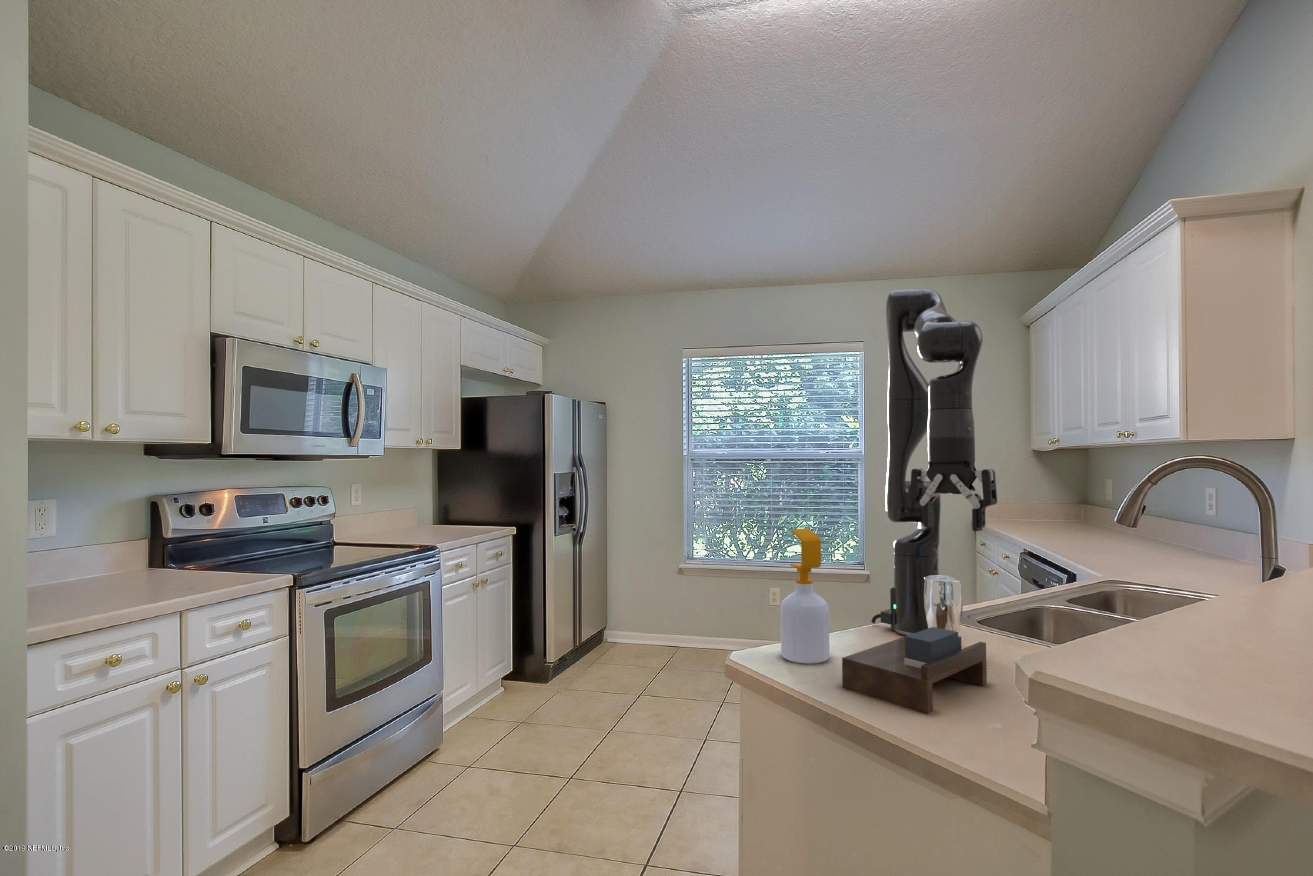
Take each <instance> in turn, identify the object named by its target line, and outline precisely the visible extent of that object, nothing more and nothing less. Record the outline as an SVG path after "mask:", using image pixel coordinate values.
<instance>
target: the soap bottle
mask: <svg viewBox="0 0 1313 876" xmlns="http://www.w3.org/2000/svg"><path fill="white" fill-rule="evenodd" d="M791 533H792V534H793V535H794V536H795V537H796V538H798V539H799V541H800V553H801V554H800V555H801V557H800V558H801V560H800V561H801V562H795V563H794V562H792V563H790V565H789V566H790V567H791V568H795V569H796V572H797V573H799V577H798V578H796V579H795V590H794V592H792V593H790V594H788V595H787V596H786V597H785V598H784V599H783V600H782V601H781V603H780V654H781V656H782V658H783V659H785V660H787V661H789V662H793V663H797V664H805V665H806V664H807V665H808V664H809V665H811V664H812V665H813V664H820V663H824V662H826V661H828V660H829V658H830V607H829V605H828V602H827V601H826V600H824V599H823V598H822V597H821V596H820V595H819V594H817V593H816V592H815V591H814V579H812V578H810V577H809V576H810V575H809V573H812V569H816V568H817V569H818V568H820V567H821V566H822V541H821V538H820V536H819V535H818V534H817V533H815V532H814V531H813V530H811V529H809V528H792V529H791Z"/></svg>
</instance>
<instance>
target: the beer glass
mask: <svg viewBox="0 0 1313 876" xmlns="http://www.w3.org/2000/svg"><path fill="white" fill-rule="evenodd" d="M963 601H964V600H963V588H962V579H961V578H960V577H956V576H952V575H943V574H942V575H940V574H939V575H930V576H925V577H924V609H925V615H926V621H927V625H928V628H931V627H936V628H941V629H946V630H951V631H956V632H958V636H959V633H960V627H961V621H962V615H963V604H964V603H963Z"/></svg>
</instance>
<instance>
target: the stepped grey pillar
mask: <svg viewBox="0 0 1313 876" xmlns="http://www.w3.org/2000/svg"><path fill="white" fill-rule="evenodd" d="M904 637H905V658H904V662H905V665H909V666H913V667H917V668H921V666H922V665H924V664H926V663H929V662H931V661H934V660H936V659H939V658H941V657H944V656H946V655H949V654H951V653H954V652H956V651H958V650H961V649H962V636H959V635H958V632H956V631H951V630H946V629H941V628H936V627H931V628H928V629H925V630H922V631H920V632H917V633H914V634H911V635H908V636H906V635H904Z"/></svg>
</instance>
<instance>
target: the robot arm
mask: <svg viewBox="0 0 1313 876" xmlns="http://www.w3.org/2000/svg"><path fill="white" fill-rule="evenodd" d="M885 318H886V319H885V321H886V322H885V323H886V340H887V355H888V373H887V375H888V376H887V377H888V379H887V439H888V440H887V443H888V446H887V449H888V450H887V469H886V480H885V493H884V495H885V496H884V499H885V500H884V502H885V503H884V504H885V512H886V515H887V518H888V520H889V521H890V522H892V523H895V524H898V523H899V524H900V523H901V524H917V527H916V528H915V529H914V530H913V531H911V532H910V533H909V534H906V535H904V536H901V537H899V538H896V539H895V540H894V541H893V586H891V587H890V589H889V595H890V596H889V599H890V600H889V601H890V602H889V604H890V607H889V608H888V609H884V610H881V611H880V613H877V614H875V615H873V616H872V618H871V623H872V624H874V625H875V623H876V621H877V619H880V623H881V624H887V625H890V631H893V632H895V633H897V634H900V635H903V636H908V635H911V634H914V633H917V632H920V631H922V630H925V629H928V625H927V621H926V615H925V609H924V577H925V576H930V575H940V564H939V562H940V561H939V558H940V557H939V547H940V546H939V545H940V540H941V534H940V533H941V510H942V509H941V507H942V505H941V503H942V502H941V494H944V495H946V494H947V495H948V494H952V495H962V496H963V498H965V499H967V501H968V502H969V503H970V504H971V506H972V507H973V508H972V509H971V518H972V519H971V523H972V525H971V527H972V531H973V532H982V531H983V528H985V527H986V525H987V524H986V509H987V508H988V507H991V506H995V505H997V504H998V491H997V480H996V479H997V478H996V471H995V470H994V469H992V468H991V469H990V468H988V469H987V468H986V469H982V470H977V468H976V465H975V463H976V437H975V431H976V430H975V429H976V428H975V417H974V410H973V408H974V407H973V383H974V377H975V374H976V368H977V364H978V360H979V358H980V354H981V352H982V351H981V350H982V349H983V348H982V347H983V342H984V335H983V331H982V329H981V327H980V326H979V325H978V324H977V323H976V322H974V321H970V320H969V321H968V320H965V321H957V320H956V319H955V318H954V317H953V316H952V315H950V314H949V313H948V312H947V309H946V306H945V304H944V301H943V299H942V296H941V294H939V292H938V291H936V290H935V289H932V288H912V289H910V288H909V289H908V288H907V289H895V290H894V289H893V290H892V291H890V292H889V293H888V296H887V298H886V306H885ZM912 332H913V333H914V335H915V337H916V338H917V340H916V348H917V354H918V356H919V357H920V359H921V360H923V361H924V362H927V363H931V364H932V363H933V364H936V363H937V364H938V363H939V364H940V363H941V364H942V363H958V365H957V368H956V370H955V371H953V372H952V373H948V374H943V375H939V376H935V377H932V378H931V379H930V380H929V381H928V380H927V378H926V377H925V376H924V375H923V373H922V372H921V370H920V369H919V367H918V366H917V365H916V363H915V362H914V360H913V358H912V357H911V355H910V353H909V350H908V347H907V345H906V341H905V337H904V333H912ZM926 434H927V461H928V468H927V469H923V468H913V469H911V472H910V480H906V477H907V471H908V466H909V463H910V460H911V458H912V456H913V455H914V452H915V451H916V449H917V448H918V446H919V445H920V443H921V442H922V440H923V439H924V437H925V436H926ZM927 478H928V480H927ZM977 478H978V481H979V482H980V483H981V485H982V495H981V493H980V491H979V490H978V489H977V487H976V486H975V484H974V482H975V481H976V480H977Z"/></svg>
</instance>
